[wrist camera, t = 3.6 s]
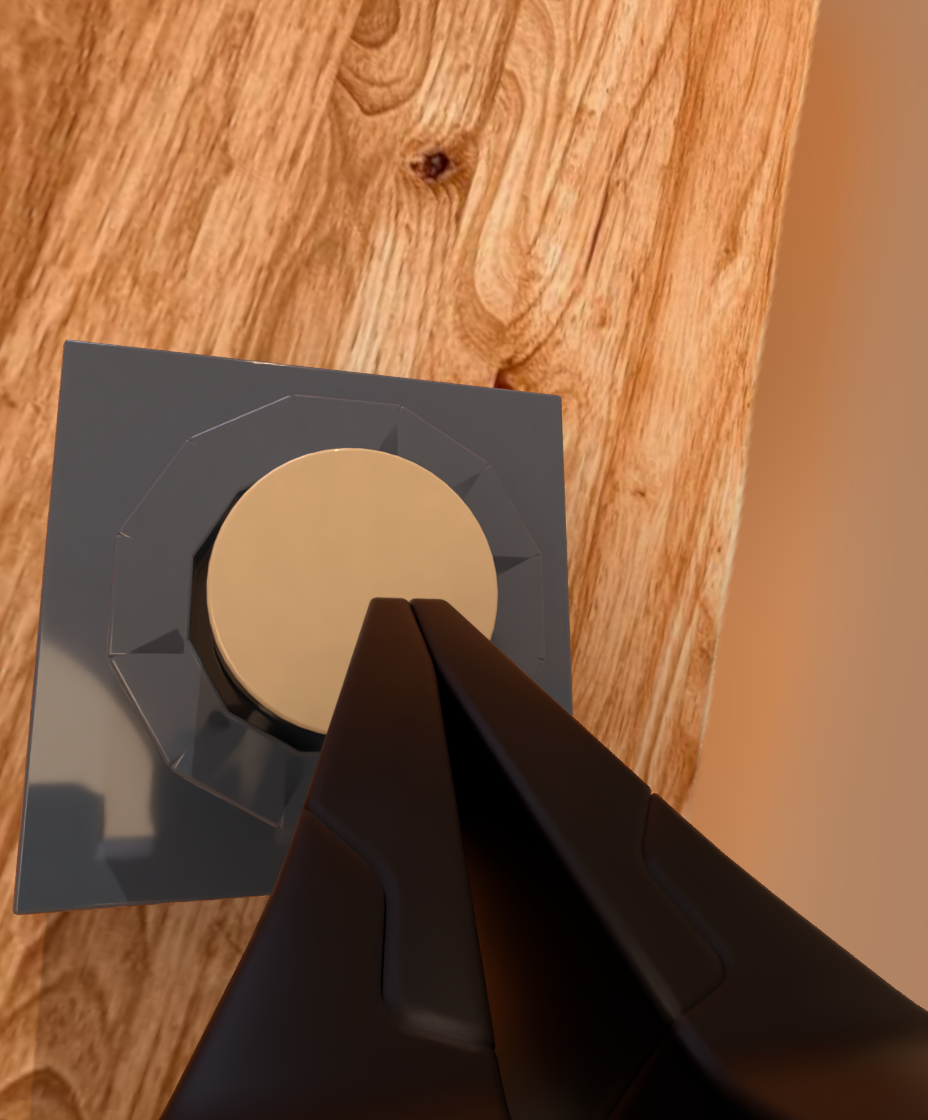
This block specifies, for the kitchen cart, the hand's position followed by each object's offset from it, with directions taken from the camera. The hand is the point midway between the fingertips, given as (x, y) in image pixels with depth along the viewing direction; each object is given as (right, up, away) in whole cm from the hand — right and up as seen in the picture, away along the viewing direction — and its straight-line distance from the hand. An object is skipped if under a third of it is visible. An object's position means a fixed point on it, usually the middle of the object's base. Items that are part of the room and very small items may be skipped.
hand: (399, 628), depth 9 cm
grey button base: (-3, -1, +11) cm, 11 cm away
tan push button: (-1, 0, +5) cm, 5 cm away
